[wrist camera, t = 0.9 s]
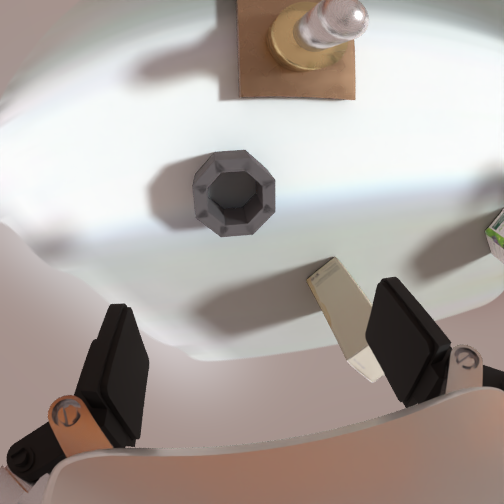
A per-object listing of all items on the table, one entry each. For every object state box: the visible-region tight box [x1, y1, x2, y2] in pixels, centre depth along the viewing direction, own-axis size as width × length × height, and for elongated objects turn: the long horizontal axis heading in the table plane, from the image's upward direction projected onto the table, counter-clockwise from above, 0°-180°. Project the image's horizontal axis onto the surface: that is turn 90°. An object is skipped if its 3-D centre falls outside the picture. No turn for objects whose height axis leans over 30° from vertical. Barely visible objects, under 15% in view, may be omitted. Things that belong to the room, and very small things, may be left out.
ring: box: [193, 150, 275, 237], centre depth 25 cm, size 6×6×4 cm
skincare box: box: [306, 257, 385, 383], centre depth 29 cm, size 6×4×12 cm
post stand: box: [236, 0, 369, 100], centre depth 16 cm, size 10×10×12 cm
